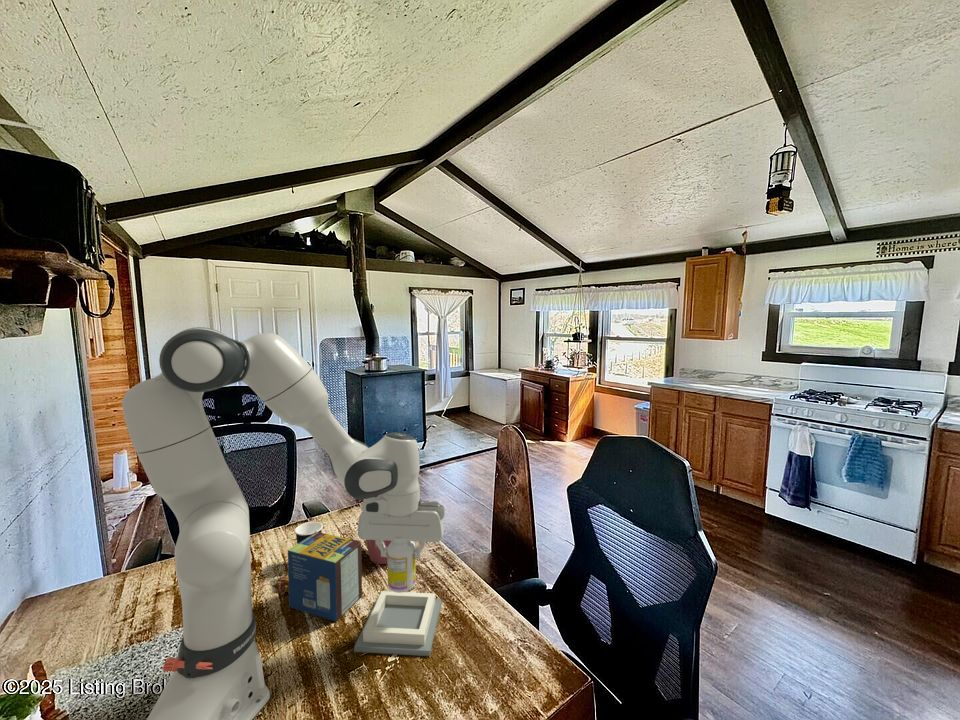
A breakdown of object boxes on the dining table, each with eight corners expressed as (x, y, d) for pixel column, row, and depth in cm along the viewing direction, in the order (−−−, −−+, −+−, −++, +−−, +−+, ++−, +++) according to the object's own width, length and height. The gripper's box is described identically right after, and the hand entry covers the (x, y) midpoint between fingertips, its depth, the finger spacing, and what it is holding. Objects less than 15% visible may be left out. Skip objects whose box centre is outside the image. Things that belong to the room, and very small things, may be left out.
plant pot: (358, 549, 129) (357, 511, 128) (401, 540, 135) (400, 504, 134) (365, 574, 116) (364, 532, 115) (412, 562, 122) (412, 522, 121)
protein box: (317, 583, 112) (316, 530, 111) (362, 596, 107) (362, 540, 106) (287, 607, 102) (286, 549, 101) (336, 623, 97) (335, 562, 96)
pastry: (280, 575, 116) (280, 563, 116) (313, 584, 112) (313, 572, 112) (260, 589, 110) (260, 577, 109) (294, 599, 106) (294, 587, 105)
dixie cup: (295, 572, 117) (294, 536, 116) (295, 558, 124) (294, 524, 123) (324, 566, 120) (323, 531, 119) (322, 552, 127) (321, 519, 127)
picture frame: (429, 656, 87) (429, 640, 87) (354, 651, 88) (354, 636, 88) (441, 603, 104) (441, 590, 104) (378, 600, 105) (378, 587, 105)
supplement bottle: (405, 573, 100) (405, 524, 99) (421, 585, 96) (421, 534, 95) (382, 584, 96) (381, 533, 95) (397, 598, 91) (396, 544, 90)
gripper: (446, 496, 97) (446, 550, 98) (364, 493, 98) (364, 547, 99) (442, 507, 90) (442, 565, 91) (354, 504, 91) (355, 562, 92)
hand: (401, 556), depth 95 cm, fingers closed on supplement bottle, 7 cm apart
